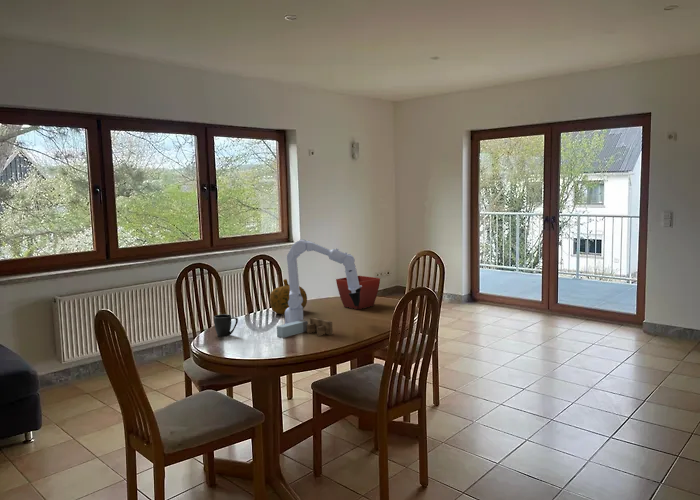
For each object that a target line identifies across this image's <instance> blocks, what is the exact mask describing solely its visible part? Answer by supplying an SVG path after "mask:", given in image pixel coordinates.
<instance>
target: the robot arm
mask: <svg viewBox="0 0 700 500" xmlns="http://www.w3.org/2000/svg"><path fill="white" fill-rule="evenodd" d="M313 251H314V252H316V253H320V254H322V255H325V256H327V257H328V258H329V260H330V261H333V262H335V263H338V264H342V265H343V266H344V270H345V271H344V272H345V278H347V283H348V290H350V292H351V293H349V296H350V297H351V299H352V301H353V303H354V306H359V303H360V290H361V288H360V287H362V285H359V281H358V276H359V275H358V272H357V267H356V263H355V259H356V258H355V256H354V255H352V254H351V253H348V252H343V251H340V249H339V248H332V249H329V248H326V247H325V246H323V245H320V244H318V243H315V242H313V241H310V240H306V239H303V238H302V239H299V240H297V241H296V242H294V243H293V244H292V245H291V247H290V249H289V251H288V253H287V255H286V261H287V262H286V263H287V274H288V284H289V286H290V293H289V301H288V305H289V308H287V309H286V310H285V315H284V324H288V323H292V322H296V321H299V320H304V309H303V307H302V305H301V304H302V302H303V298H302V296H301V292H300V289H299V286H300V281H299V269H298V268H299V267H298V258H299V257H300V256H301V254H303V253H305V252H313Z"/></svg>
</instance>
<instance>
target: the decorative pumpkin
mask: <svg viewBox="0 0 700 500" xmlns="http://www.w3.org/2000/svg"><path fill="white" fill-rule="evenodd" d="M299 289H300V292H301V296H302V298H303V302H302V304H301V305H302V307H303V310H304V309H305V307H306V306H307V303H308V295H307V292H306V290H305V289H304V288H303V287H302V286H300V285H299ZM289 293H290V286H289V281H288V280H287V278H285V279H283V286H278V287H276V288H274V289H273V290H272V291H271V292H270V294H269V304H270V307H271V310H272V311H274V313H276V314H278V315H284V316H285V310H286V309H287V308H289V305H288V301H289Z"/></svg>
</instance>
